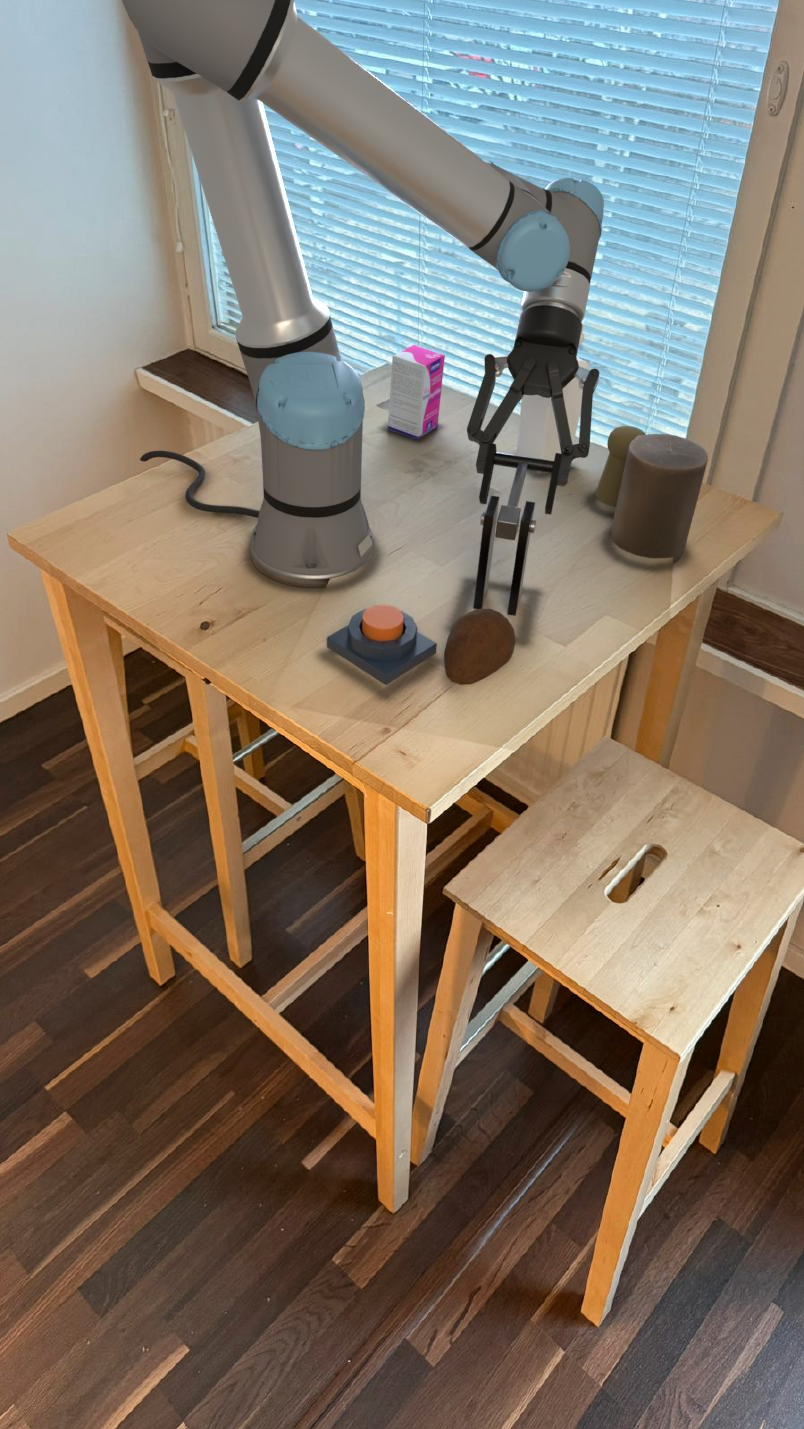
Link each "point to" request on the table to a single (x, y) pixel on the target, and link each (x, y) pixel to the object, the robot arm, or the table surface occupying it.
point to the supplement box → (415, 391)
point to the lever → (516, 490)
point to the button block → (382, 649)
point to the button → (382, 623)
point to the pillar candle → (658, 495)
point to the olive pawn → (615, 463)
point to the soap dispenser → (548, 420)
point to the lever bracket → (487, 548)
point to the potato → (478, 646)
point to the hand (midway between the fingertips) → (515, 505)
